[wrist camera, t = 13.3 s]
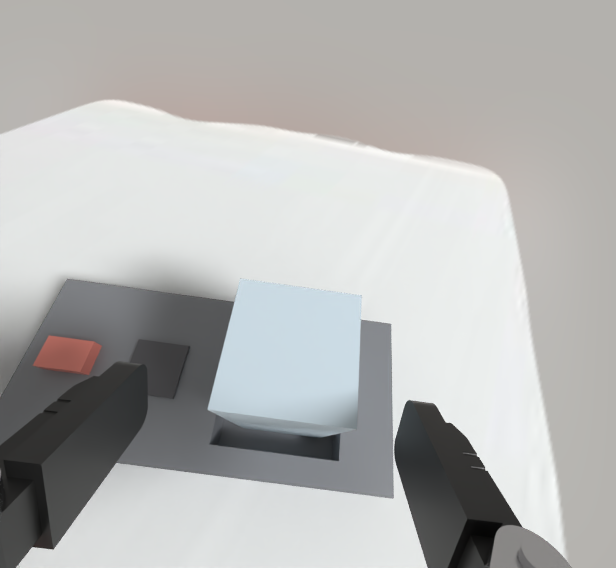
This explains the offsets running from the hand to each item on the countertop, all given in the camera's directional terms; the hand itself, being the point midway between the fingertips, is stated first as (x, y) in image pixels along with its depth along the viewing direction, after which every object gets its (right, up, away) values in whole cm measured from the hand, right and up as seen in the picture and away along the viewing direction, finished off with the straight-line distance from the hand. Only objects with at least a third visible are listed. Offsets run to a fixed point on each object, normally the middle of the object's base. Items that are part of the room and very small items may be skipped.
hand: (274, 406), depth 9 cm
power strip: (-4, -3, +10) cm, 11 cm away
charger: (0, -3, +10) cm, 10 cm away
